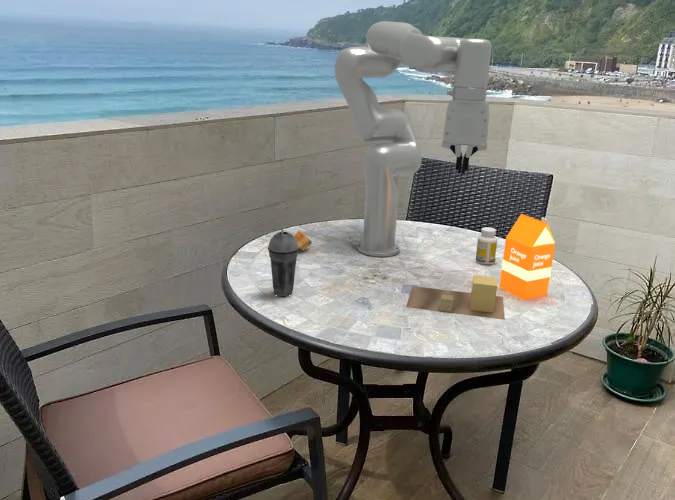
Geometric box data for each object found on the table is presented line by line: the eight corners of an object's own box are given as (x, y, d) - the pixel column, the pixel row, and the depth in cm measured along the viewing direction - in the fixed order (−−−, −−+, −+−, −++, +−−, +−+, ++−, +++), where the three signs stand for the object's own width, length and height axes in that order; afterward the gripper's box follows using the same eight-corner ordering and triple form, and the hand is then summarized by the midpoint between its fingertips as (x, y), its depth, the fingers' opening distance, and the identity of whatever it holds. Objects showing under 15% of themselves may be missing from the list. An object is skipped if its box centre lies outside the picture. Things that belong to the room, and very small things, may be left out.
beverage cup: (302, 290, 145) (304, 212, 138) (291, 301, 138) (291, 220, 132) (275, 285, 147) (275, 208, 140) (263, 296, 140) (262, 216, 134)
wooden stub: (439, 310, 133) (441, 298, 132) (440, 306, 136) (441, 294, 135) (451, 312, 133) (452, 300, 132) (452, 307, 135) (453, 295, 134)
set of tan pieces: (361, 284, 151) (361, 277, 150) (373, 279, 155) (373, 272, 154) (376, 290, 148) (377, 283, 147) (388, 284, 152) (389, 278, 151)
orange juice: (523, 304, 141) (535, 225, 135) (498, 291, 149) (508, 215, 142) (547, 299, 145) (559, 221, 138) (521, 286, 152) (532, 211, 145)
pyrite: (292, 255, 169) (296, 258, 172) (308, 238, 169) (312, 242, 172) (281, 243, 170) (286, 247, 174) (297, 227, 170) (301, 231, 174)
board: (405, 311, 135) (406, 307, 135) (411, 290, 147) (412, 285, 147) (504, 324, 131) (504, 319, 130) (502, 301, 143) (502, 296, 142)
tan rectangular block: (470, 309, 134) (473, 283, 132) (470, 300, 139) (473, 275, 137) (493, 312, 133) (497, 285, 131) (492, 303, 138) (496, 277, 136)
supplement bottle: (493, 259, 171) (497, 227, 168) (495, 265, 166) (500, 232, 163) (474, 257, 172) (478, 225, 168) (476, 264, 166) (480, 231, 163)
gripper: (435, 94, 134) (429, 173, 141) (503, 98, 131) (493, 178, 138) (438, 92, 141) (431, 167, 147) (502, 95, 138) (492, 172, 144)
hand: (461, 172), depth 142 cm, fingers closed
